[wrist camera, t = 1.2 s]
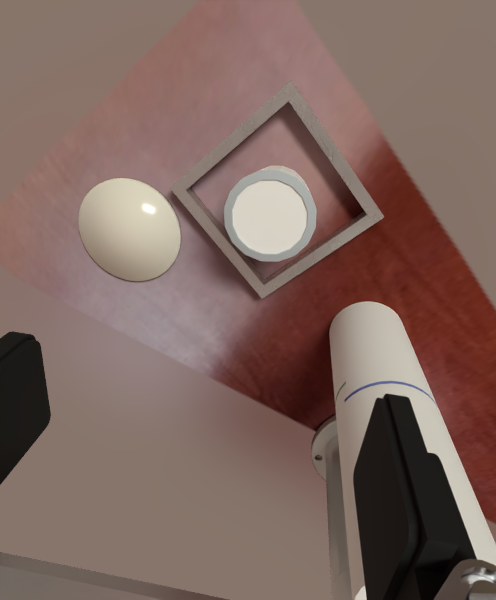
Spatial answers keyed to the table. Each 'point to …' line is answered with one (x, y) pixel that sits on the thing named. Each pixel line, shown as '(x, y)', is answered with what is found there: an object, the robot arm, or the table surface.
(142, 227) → the cream flat disc
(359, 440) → the cylindrical container
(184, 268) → the table surface
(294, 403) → the table surface
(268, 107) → the holder collar
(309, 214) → the white cup
